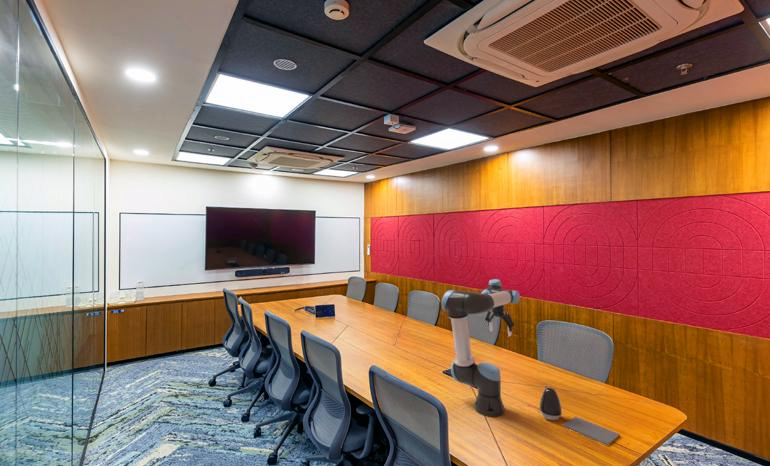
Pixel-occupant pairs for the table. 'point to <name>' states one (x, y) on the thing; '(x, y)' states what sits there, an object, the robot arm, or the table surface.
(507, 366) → the table surface
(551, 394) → the pump dispenser
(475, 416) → the table surface
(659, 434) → the table surface
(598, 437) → the mat
